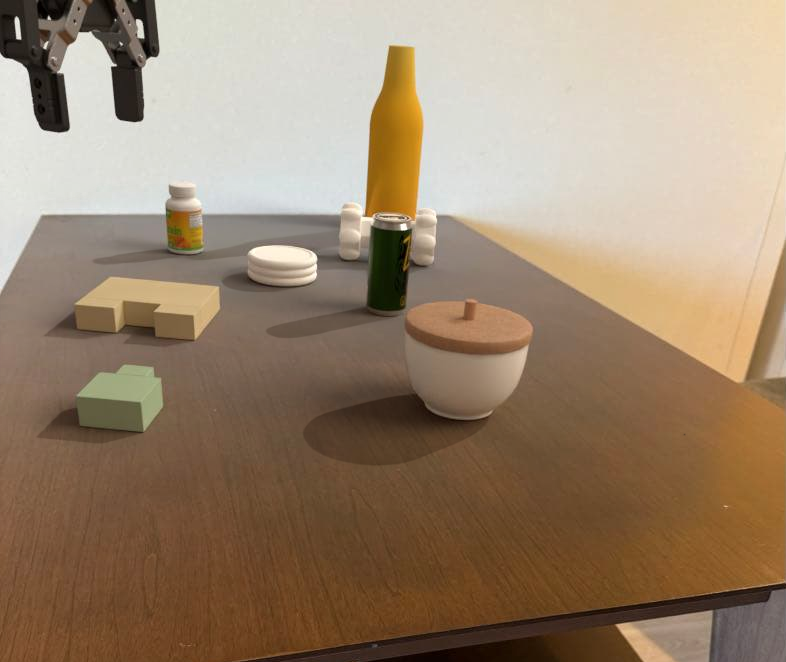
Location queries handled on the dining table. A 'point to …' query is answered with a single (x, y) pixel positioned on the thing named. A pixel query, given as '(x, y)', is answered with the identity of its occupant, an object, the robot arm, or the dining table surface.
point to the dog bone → (358, 233)
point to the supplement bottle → (184, 219)
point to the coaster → (282, 265)
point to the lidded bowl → (465, 356)
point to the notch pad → (148, 307)
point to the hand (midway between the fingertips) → (94, 125)
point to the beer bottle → (395, 139)
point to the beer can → (388, 263)
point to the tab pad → (121, 399)
